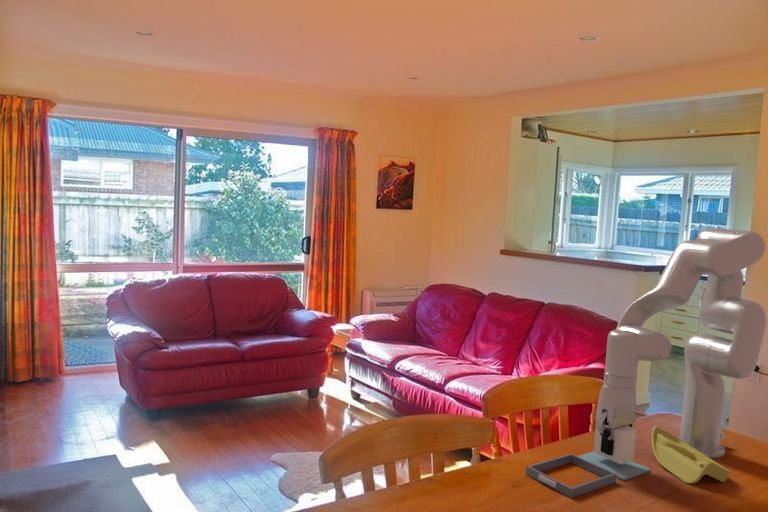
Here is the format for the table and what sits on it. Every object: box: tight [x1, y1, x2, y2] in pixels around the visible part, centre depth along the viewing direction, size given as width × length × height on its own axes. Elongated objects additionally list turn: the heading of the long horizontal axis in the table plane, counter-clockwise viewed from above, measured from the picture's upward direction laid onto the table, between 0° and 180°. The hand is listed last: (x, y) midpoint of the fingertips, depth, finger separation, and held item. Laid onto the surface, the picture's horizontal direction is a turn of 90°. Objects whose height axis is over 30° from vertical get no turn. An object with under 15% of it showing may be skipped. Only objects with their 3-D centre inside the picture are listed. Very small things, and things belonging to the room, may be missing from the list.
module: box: [592, 421, 637, 464], centre depth 156 cm, size 5×8×8 cm, turn 35°
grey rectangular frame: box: [525, 453, 617, 499], centre depth 147 cm, size 17×13×2 cm
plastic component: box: [650, 425, 731, 485], centre depth 157 cm, size 20×7×10 cm
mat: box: [577, 451, 652, 481], centre depth 157 cm, size 11×14×1 cm
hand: (613, 450), depth 156 cm, fingers closed on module, 5 cm apart
